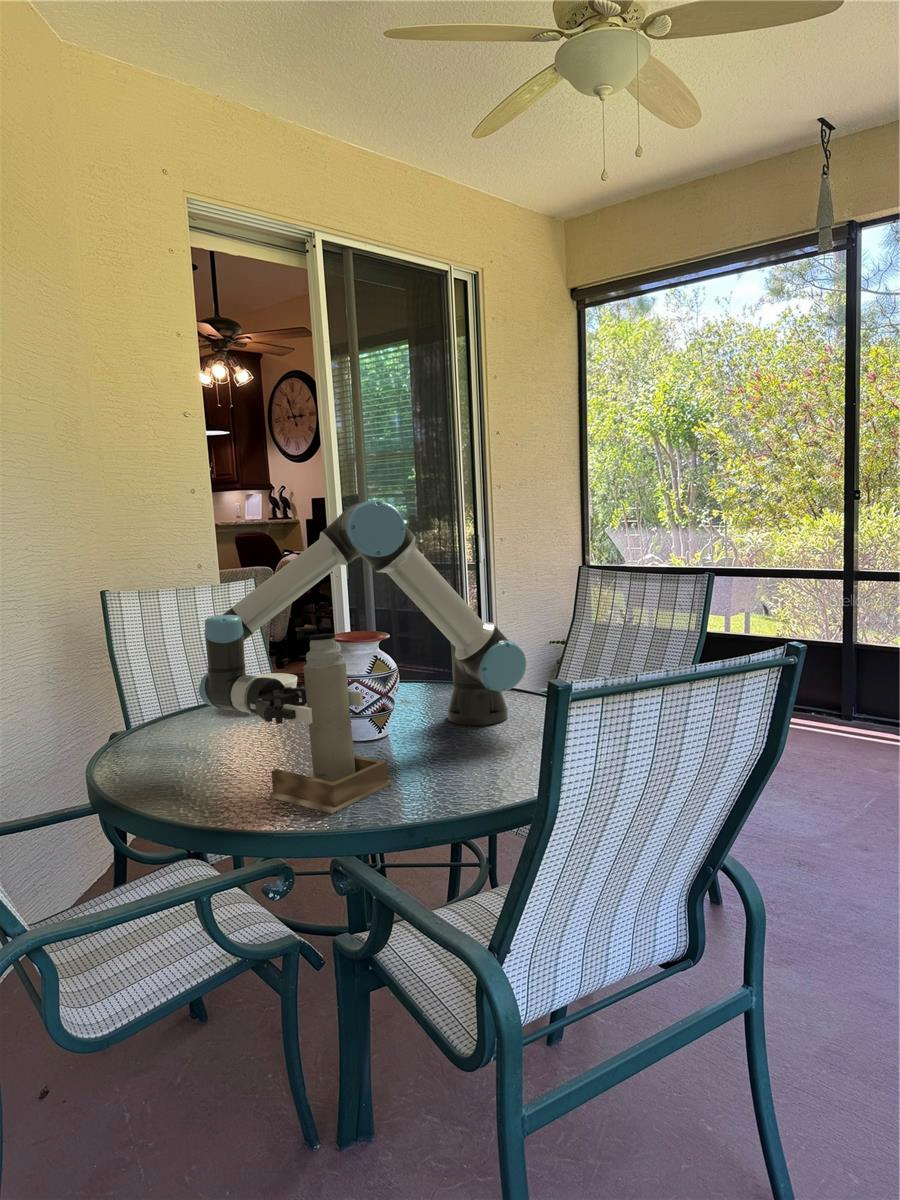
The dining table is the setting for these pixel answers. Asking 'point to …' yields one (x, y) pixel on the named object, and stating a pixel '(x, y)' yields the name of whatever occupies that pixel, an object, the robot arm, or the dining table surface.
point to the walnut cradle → (331, 786)
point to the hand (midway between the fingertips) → (337, 707)
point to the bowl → (282, 678)
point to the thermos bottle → (328, 710)
